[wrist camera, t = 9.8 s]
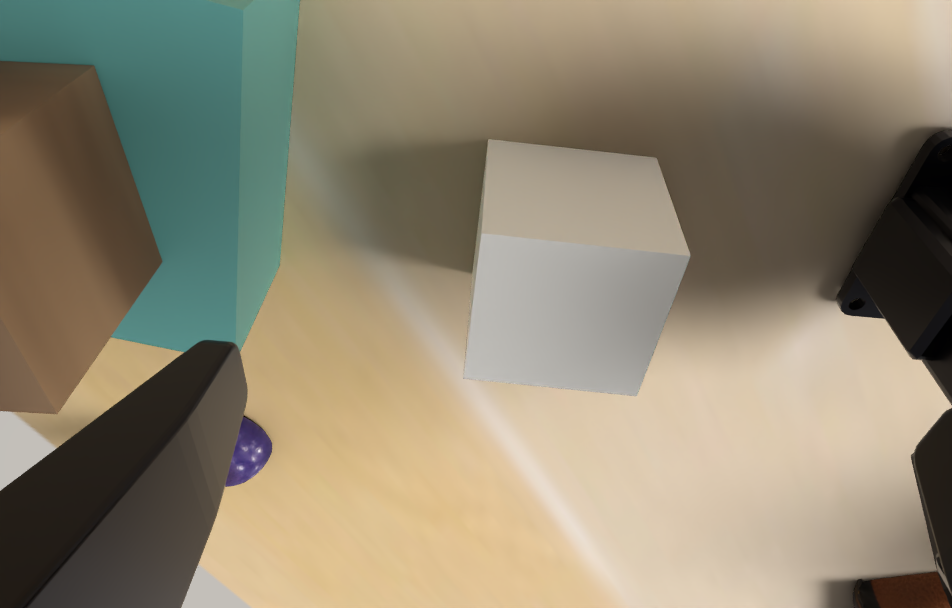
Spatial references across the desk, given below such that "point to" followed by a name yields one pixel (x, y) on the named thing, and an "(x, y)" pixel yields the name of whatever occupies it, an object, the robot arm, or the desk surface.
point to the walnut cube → (63, 232)
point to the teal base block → (187, 142)
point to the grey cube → (571, 268)
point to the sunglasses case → (901, 592)
